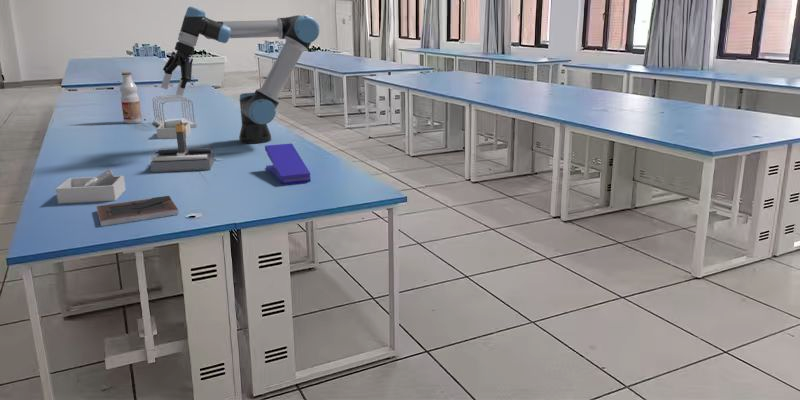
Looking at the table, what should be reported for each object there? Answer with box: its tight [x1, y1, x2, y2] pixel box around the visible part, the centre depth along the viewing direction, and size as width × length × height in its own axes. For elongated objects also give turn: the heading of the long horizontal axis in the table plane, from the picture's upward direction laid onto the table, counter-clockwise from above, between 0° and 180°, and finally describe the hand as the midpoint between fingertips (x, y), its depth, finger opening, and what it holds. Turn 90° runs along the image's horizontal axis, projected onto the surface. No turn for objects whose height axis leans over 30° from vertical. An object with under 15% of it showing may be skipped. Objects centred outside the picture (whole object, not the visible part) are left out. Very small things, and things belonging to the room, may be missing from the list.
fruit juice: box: [119, 71, 143, 125], centre depth 343 cm, size 9×9×28 cm
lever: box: [175, 123, 188, 154], centre depth 243 cm, size 3×7×13 cm, turn 10°
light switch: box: [82, 168, 115, 187], centre depth 207 cm, size 8×6×14 cm
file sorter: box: [152, 94, 197, 128], centre depth 336 cm, size 25×17×16 cm
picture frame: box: [96, 195, 180, 227], centre depth 189 cm, size 16×2×22 cm
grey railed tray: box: [150, 147, 212, 162], centre depth 245 cm, size 21×15×2 cm
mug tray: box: [156, 122, 192, 140], centre depth 309 cm, size 14×16×5 cm
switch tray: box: [55, 175, 126, 204], centre depth 206 cm, size 18×14×5 cm
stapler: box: [264, 143, 311, 186], centre depth 231 cm, size 12×28×10 cm, turn 25°
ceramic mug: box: [164, 120, 182, 128], centre depth 308 cm, size 11×8×8 cm
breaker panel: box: [150, 147, 216, 174], centre depth 245 cm, size 22×16×6 cm
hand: (171, 91), depth 261 cm, fingers open, 13 cm apart
